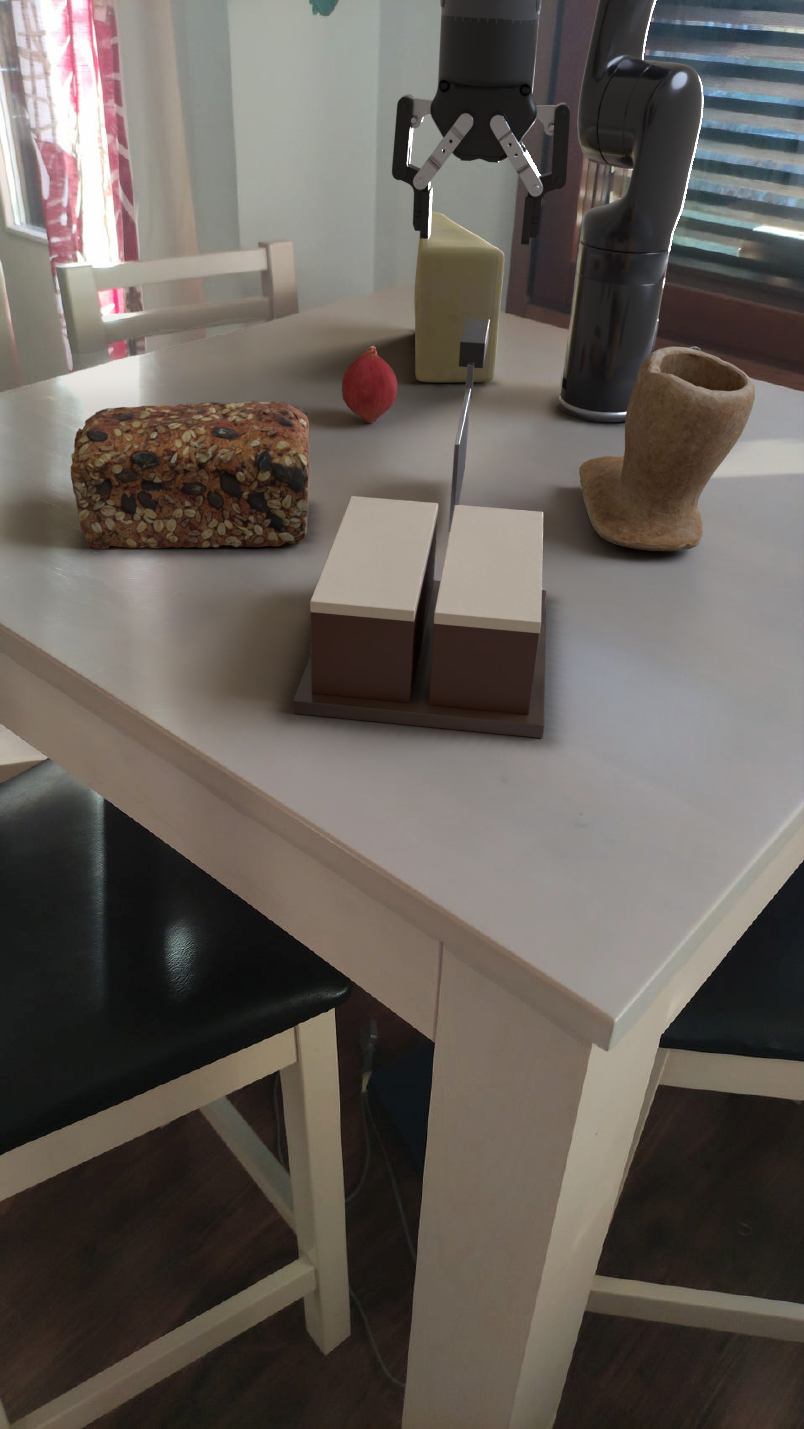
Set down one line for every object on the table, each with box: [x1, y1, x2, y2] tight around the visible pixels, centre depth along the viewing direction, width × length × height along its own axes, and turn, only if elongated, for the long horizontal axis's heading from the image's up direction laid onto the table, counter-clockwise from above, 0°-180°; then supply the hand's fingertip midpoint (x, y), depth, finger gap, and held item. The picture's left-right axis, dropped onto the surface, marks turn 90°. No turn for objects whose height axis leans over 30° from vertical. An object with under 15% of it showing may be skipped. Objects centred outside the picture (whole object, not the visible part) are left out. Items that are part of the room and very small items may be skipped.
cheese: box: [413, 211, 505, 383], centre depth 128 cm, size 22×10×15 cm, turn 8°
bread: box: [70, 400, 311, 550], centre depth 87 cm, size 19×11×10 cm, turn 94°
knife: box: [448, 318, 490, 533], centre depth 93 cm, size 23×2×11 cm, turn 173°
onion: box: [341, 345, 399, 424], centre depth 109 cm, size 6×6×8 cm
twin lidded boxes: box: [292, 495, 547, 739], centre depth 72 cm, size 18×16×8 cm
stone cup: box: [578, 346, 756, 552], centre depth 89 cm, size 15×12×15 cm
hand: (474, 240), depth 90 cm, fingers open, 8 cm apart
